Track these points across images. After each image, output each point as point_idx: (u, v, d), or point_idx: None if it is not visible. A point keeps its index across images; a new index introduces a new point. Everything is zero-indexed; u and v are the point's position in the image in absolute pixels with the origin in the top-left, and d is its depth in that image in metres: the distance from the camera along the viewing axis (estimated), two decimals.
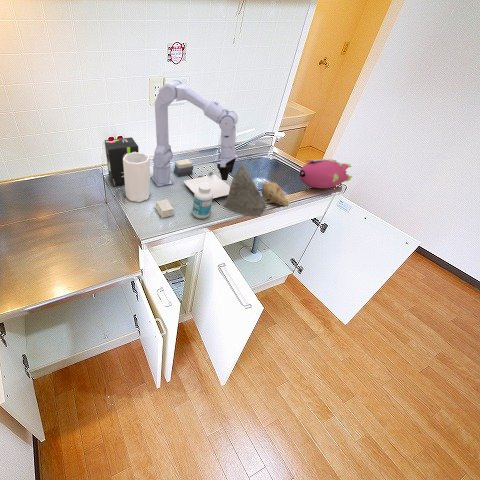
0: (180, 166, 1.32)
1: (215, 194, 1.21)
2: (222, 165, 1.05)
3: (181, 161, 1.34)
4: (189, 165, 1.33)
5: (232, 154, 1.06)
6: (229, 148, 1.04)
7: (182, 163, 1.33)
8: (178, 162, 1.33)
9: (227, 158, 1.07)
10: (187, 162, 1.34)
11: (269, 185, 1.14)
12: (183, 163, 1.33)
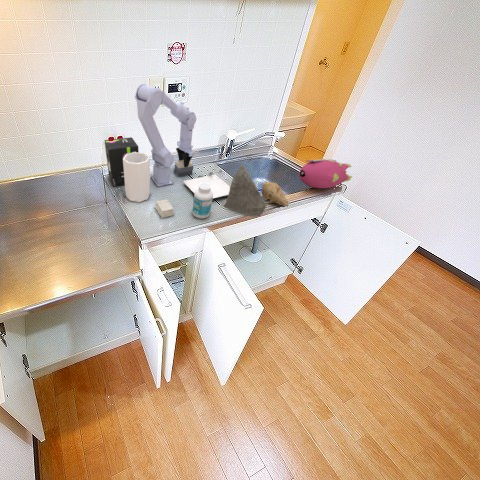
0: (180, 166, 1.32)
1: (215, 194, 1.21)
2: (191, 155, 1.24)
3: (181, 161, 1.34)
4: (189, 165, 1.33)
5: None
6: (190, 140, 1.24)
7: (182, 163, 1.33)
8: (178, 162, 1.33)
9: (189, 148, 1.27)
10: None
11: (269, 185, 1.14)
12: (183, 163, 1.33)
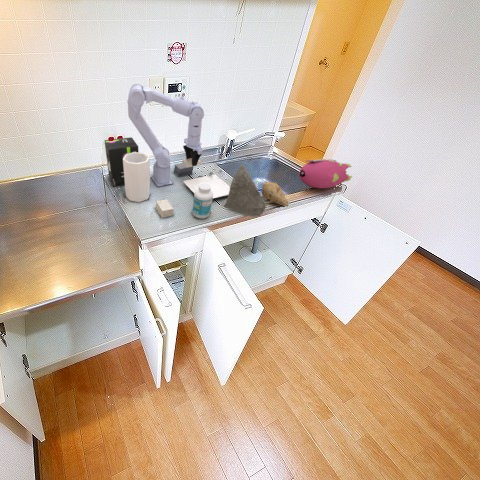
0: (188, 165, 1.22)
1: (215, 194, 1.21)
2: (200, 152, 1.15)
3: (188, 159, 1.25)
4: (198, 164, 1.24)
5: (199, 141, 1.18)
6: (199, 136, 1.15)
7: (190, 161, 1.23)
8: (186, 161, 1.24)
9: (197, 146, 1.17)
10: None
11: (269, 185, 1.14)
12: (191, 161, 1.23)
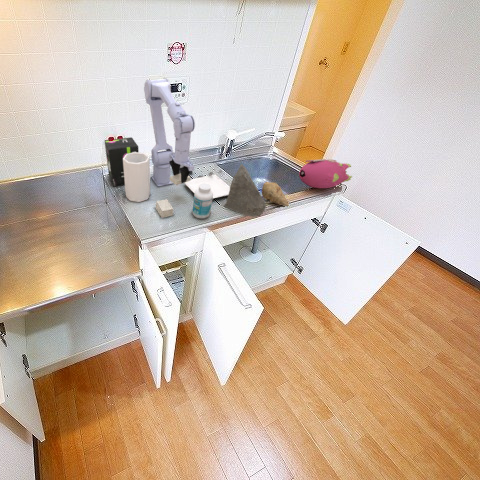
0: (177, 182, 1.10)
1: (215, 194, 1.21)
2: (192, 169, 1.03)
3: (176, 176, 1.13)
4: (187, 180, 1.12)
5: (188, 156, 1.06)
6: (188, 151, 1.03)
7: (179, 178, 1.11)
8: (174, 178, 1.12)
9: (187, 161, 1.05)
10: None
11: (269, 185, 1.14)
12: (180, 178, 1.11)
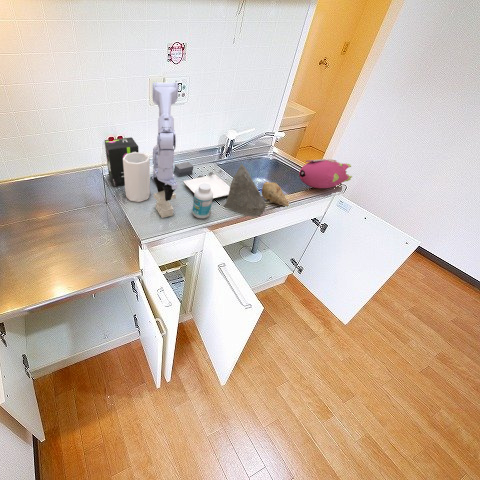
0: (161, 200, 1.04)
1: (215, 194, 1.21)
2: (175, 187, 0.97)
3: (161, 193, 1.07)
4: (172, 197, 1.06)
5: (172, 173, 1.00)
6: (172, 168, 0.97)
7: (164, 196, 1.05)
8: (158, 195, 1.05)
9: (170, 179, 0.99)
10: None
11: (269, 185, 1.14)
12: (164, 196, 1.05)
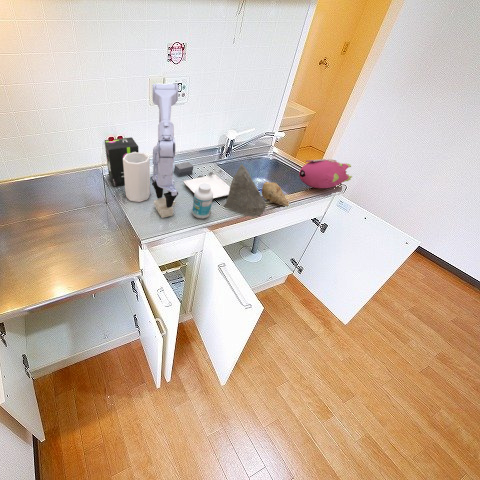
0: (161, 207, 1.06)
1: (215, 194, 1.21)
2: (174, 194, 0.99)
3: (161, 200, 1.09)
4: None
5: (172, 180, 1.02)
6: (171, 175, 0.99)
7: (163, 203, 1.07)
8: (158, 202, 1.08)
9: (170, 185, 1.01)
10: None
11: (269, 185, 1.14)
12: (164, 203, 1.07)
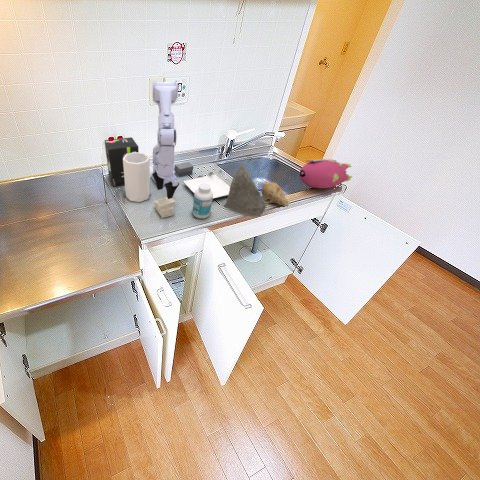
0: (161, 207, 1.06)
1: (215, 194, 1.21)
2: (175, 184, 0.96)
3: (161, 200, 1.09)
4: (171, 204, 1.08)
5: (173, 170, 0.99)
6: (172, 165, 0.96)
7: (163, 203, 1.07)
8: (158, 202, 1.08)
9: (171, 175, 0.99)
10: (168, 200, 1.09)
11: (269, 185, 1.14)
12: (164, 203, 1.07)
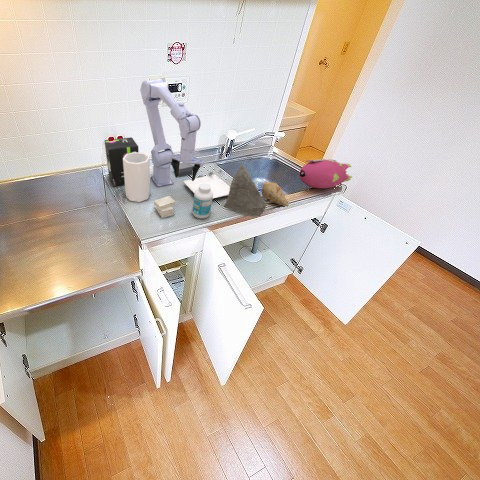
0: (161, 207, 1.06)
1: (215, 194, 1.21)
2: (203, 164, 1.07)
3: (161, 200, 1.09)
4: (171, 204, 1.08)
5: None
6: (194, 148, 1.06)
7: (163, 203, 1.07)
8: (158, 202, 1.08)
9: (194, 159, 1.08)
10: (168, 200, 1.09)
11: (269, 185, 1.14)
12: (164, 203, 1.07)
